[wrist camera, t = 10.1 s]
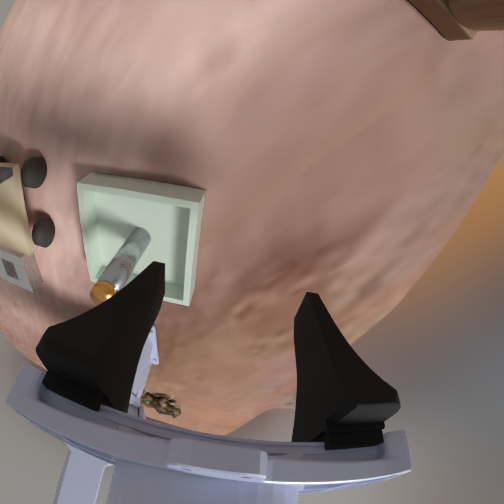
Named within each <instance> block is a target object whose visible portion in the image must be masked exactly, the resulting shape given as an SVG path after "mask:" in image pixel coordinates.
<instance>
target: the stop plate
mask: <svg viewBox="0 0 504 504" xmlns="http://www.w3.org/2000/svg"><path fill="white" fill-rule="evenodd" d="M0 276H1V278H2V279H4V280H6V281H8V282H10V283H12V284H14V285H17V286H19V287H21V288H23V289H26V290H28V291H30V292H33V293H34V292H35V291H36V290H37V288H38V287H39V286H40V284H41V283H42V282H43V280H42V278H41V275H40V272H39V268H38V265H37V262H36V259H35V255H34V253H33V254H32V255H31V256H29V255H26V254H23V253H21V252H18V251H15V250H12V249H9V248H7V247H4V246H1V245H0Z"/></svg>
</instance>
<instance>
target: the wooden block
mask: <svg viewBox="0 0 504 504" xmlns="http://www.w3.org/2000/svg"><path fill="white" fill-rule="evenodd" d="M408 1H409V2H410V3H412V4H413V5H414V6H415V7H416V8H417V9H418V10H419V11H420V12H421V13H422V14H423V15H424V16H425V17H426V18H427V19H428V20H429V21H430V22H431V23H432V24H433V25H434V26H435V27H436V28H437V29H438V30H439V31H440V33H441V34H442V35H443V36H444V37H445V38H446V39H447V40H449V41H453V40H470V39H473V37H474V36H475V35H476V33H477V32H478V31H486V30H504V0H408Z"/></svg>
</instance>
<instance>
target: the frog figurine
mask: <svg viewBox="0 0 504 504" xmlns="http://www.w3.org/2000/svg"><path fill="white" fill-rule="evenodd" d="M147 392H148V390H146V389H144V390H143V393H142V395H141V397H140V398H139V399H140V400H141V402H140V404H141V407H142V408H144V407H146V408H149V407H151V408H155V410H156V411H157V412H158V413H160V414H167V415H172V416H173V418H176V417H177V416H179V415H181V409H180V408H181V406H177V405H175V404H173V403H171V402H169V401H168V400H169V399H173V398H174V397H173V396H172V395H169V394H164V396H165V397H166V398H162V397H160V396H159V395H152V394H151V395H146V393H147Z"/></svg>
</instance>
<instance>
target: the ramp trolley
mask: <svg viewBox="0 0 504 504" xmlns="http://www.w3.org/2000/svg"><path fill="white" fill-rule="evenodd" d="M46 173H47V165H46V162H45V160H44V159H43V158H39V157H30V158H28V159H27V160H26V161H25V162H24V164H23V166H22V169H21V176H20V167H19V163H6V160H5V158H4V157H2V156H0V245H1V246H4V247H7V248H9V249H12V250H15V251H18V252H21V253H23V254H26V255H29V256H31V255H32V254H33V253H34V252H35V247H34V244H36V245H38V246H41V247H48V246H49V245H50V244H51V243H52V241H53V239H54V235H55V226H54V223H53V222H52V221H51V220H48V219H44V218H40V219H38V220H37V221H36V222H35V224H34V226H33V230H32V236H31V231H30V227H29V223H28V218H27V213H26V208H25V202H24V197H23V190H22V184H23V185H24V186H25V187H29V188H38V187H40V186H41V185H42V184H43V182H44V180H45V177H46ZM21 181H22V183H21ZM33 242H34V243H33Z"/></svg>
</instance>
